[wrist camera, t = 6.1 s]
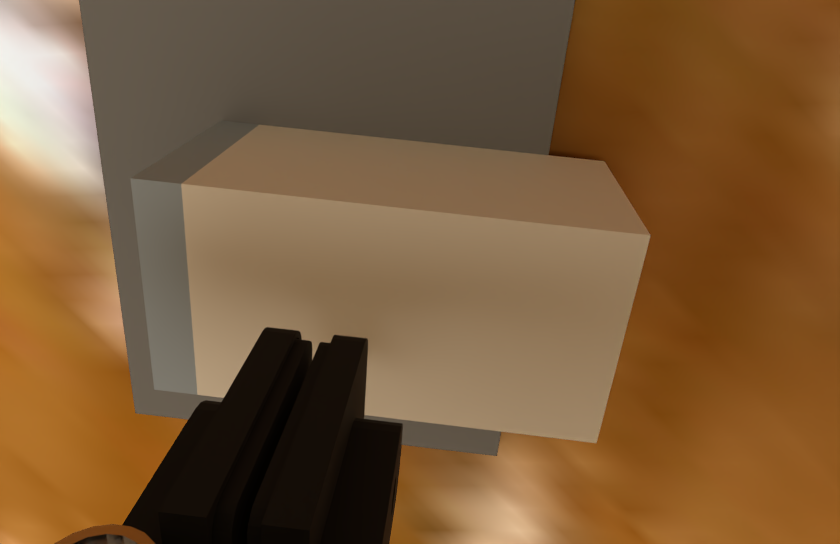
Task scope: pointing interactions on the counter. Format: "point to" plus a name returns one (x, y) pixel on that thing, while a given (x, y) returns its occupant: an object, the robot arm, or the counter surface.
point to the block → (394, 270)
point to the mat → (311, 104)
